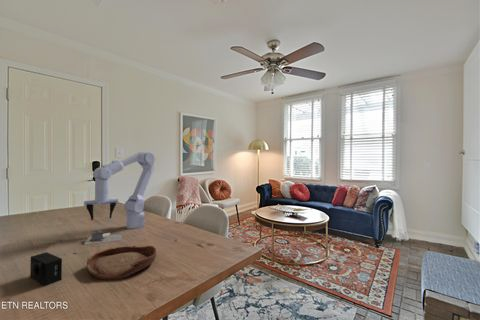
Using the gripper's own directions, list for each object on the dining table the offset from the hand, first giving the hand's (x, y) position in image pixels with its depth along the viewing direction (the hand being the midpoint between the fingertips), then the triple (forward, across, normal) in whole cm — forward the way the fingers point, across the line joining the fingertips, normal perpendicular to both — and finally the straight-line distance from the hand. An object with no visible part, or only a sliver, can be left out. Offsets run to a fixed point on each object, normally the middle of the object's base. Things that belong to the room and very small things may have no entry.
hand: (101, 218), depth 110 cm
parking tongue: (+9, -2, 0) cm, 9 cm away
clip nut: (+9, +1, +7) cm, 12 cm away
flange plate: (+9, -2, +8) cm, 12 cm away
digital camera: (+9, +13, +37) cm, 41 cm away
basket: (+10, -10, +38) cm, 41 cm away
